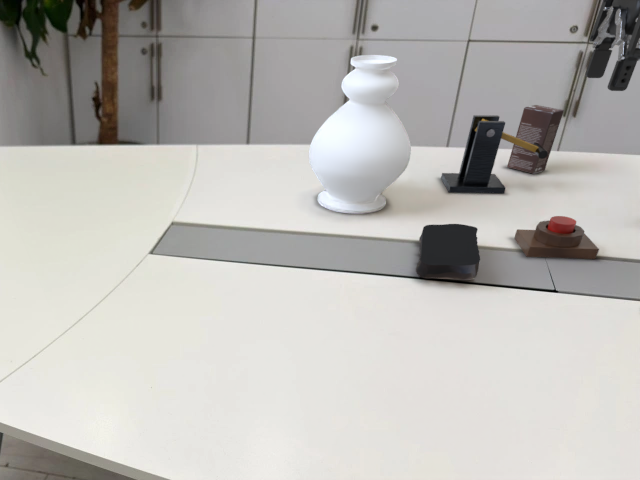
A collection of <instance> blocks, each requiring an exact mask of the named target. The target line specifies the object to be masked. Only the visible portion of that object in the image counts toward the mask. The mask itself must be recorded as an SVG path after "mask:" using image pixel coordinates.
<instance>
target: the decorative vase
mask: <svg viewBox="0 0 640 480" xmlns="http://www.w3.org/2000/svg"><path fill="white" fill-rule="evenodd" d="M397 64H398V58H397V57H394V56H390V55H383V54H363V55H355V56H353V57H351V58H350V65H351V66H352V67H354V69H353V70H351V71H350V72H349V73H347V74H346V75H345V76H344V78H343V79H342V81H341V84H340V85H341V87H340V88H341V91H342V92H343V94H344V95H345V97H347V99H348V101H346V102H345V103H343V104H342V105H341V106H340V107H339V108H338V109H337V110H335V112H333V113H332V114H331V115H330V116H329V117H327V119H326V120H325V121H324V122H323V123H322V124H321V125H320V127H319V129H318V130H317V131H316V133H315V134H314V136H313V138H312V139H311V142H310V146H309V150H308V162H309V166H310V168H311V169H312V171H313V173H314V175H315V176H316V178H317V180H318V181H319V183H320V184H321V186H322V187H323V189H324V190H322V191H321V192H319V193H318V195H317V203H318V205H320V206H322V207H323V208H325V209H327V210H330V211H332V212H336V213H343V214H350V215H351V214H353V215H357V214H358V215H359V214H361V215H362V214H370V213H374V212H378V211H380V210H383V209H384V208H385V206H386V203H387V198H386V197H385V196H384V195H383V194H382V193H383V192H384V191H385V190H387V189H388V188H389V187H390V186H391V185H393V184H394V182H395V181H397V180H398V179H399V178H400V176H401V175H402V174H403V173H405V171H406V169H407V167H408V166H409V163H410V159H411V155H412V145H411V140H410V137H409V134H408V132H407V130H406V128H405V126H404V123H403V122H402V121H401V119H400V117H399V116H398V115H397V113H396V112H395V111H394V110H393V108H392V107H391V106H390V105H389V104H388V103H387V100H389V98H391V97H392V96H393V95H395V93H396V92H397V91H398V89H399V87H400V86H399V85H400V84H399V83H400V81H399V78H398V77H397V75H396V74H395V72H393V71H392V69H391V68H393V67H395V66H397Z"/></svg>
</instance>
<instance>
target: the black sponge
mask: <svg viewBox="0 0 640 480" xmlns="http://www.w3.org/2000/svg"><path fill="white" fill-rule="evenodd" d="M477 233H478V227H476V226H473V225H468V224H462V223H446V224H426V225H424V226H423V228H422V231H421V234H420V236H419V238H418V243H419V244H420V245H419V258H418V262H417V265H416V267H415V272H416V275H417V276H418V277H420V278H422V279H441V280H442V279H443V280H456V281H457V280H458V281H467V280H468V281H470V280H474V279H476V278H477V276H478V272H479V267H480V263H481V262H480V261H481V255H480V249H479V244H478V237H477V236H478V235H477Z"/></svg>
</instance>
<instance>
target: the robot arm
mask: <svg viewBox="0 0 640 480" xmlns="http://www.w3.org/2000/svg"><path fill="white" fill-rule="evenodd" d="M589 42H592V49H593V51H592V54H591V57H590V60H589V62H588V64H587V68H586V72H585V77H587V78H588V79H601V78H602V77H604V75H605V72H606V69H607V67H608V64H609V61H610V58H611V55H612V53H613V50H612V49H613V48H615V46H618V52H617V53H618V55H617V60H616V62H615V64H614V67H613V69H612V73H611V75H610V79H609V80H608V81H609V82H608V84H607V89H608V90H609V91H611V92H624V91H626V90H627V89H628V87H629V84H630V81H631V78H632V76H633V73H634V71H635V69H636V66H637V63H638V62H640V0H603V1H602V3H601V6H600V8H599V11H598V14H597V17H596V20H595V22H594V25H593V27H592V31H591V33H590V36H589Z"/></svg>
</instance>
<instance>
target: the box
mask: <svg viewBox="0 0 640 480" xmlns="http://www.w3.org/2000/svg"><path fill="white" fill-rule="evenodd" d="M564 111H565V109H561V108H554V107H549V106H544V105H538V104H534V105H530V106H529V105H528V106H525V107H524V108H523V111H522V114H521V117H520V121H519V125H518V127H517V131H516V136H515V137H516V138H519V139H521V140H523V141H526V142H528V143H531V144H533V143H539V144H540V145H541V146H542V147H543V148H544V149H545V150H546V151H547V152H548V155H547V156H546V157H545V158H543V159H540V158H539V157H538V156H537V155H536V154H535V153H534V152H532V151H530V150H527V149H525V148H523V147H520V146H518V145H515V144H513V145H512V149H511V152H510V156H509V159H508V161H507V168H510V169H512V170H513V169H514V170H518V171H521V172H525V173H529V174H532V175H536V174H538V173H541V172H543V171H545V169H546V167H547V164H548V162H549V161H548V160H549V158H550V155H551V152H552V148H553V146H554V142H555V140H556V137H557V133H558V130H559V126H560V124H561V121H562V118H563V114H564Z"/></svg>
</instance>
